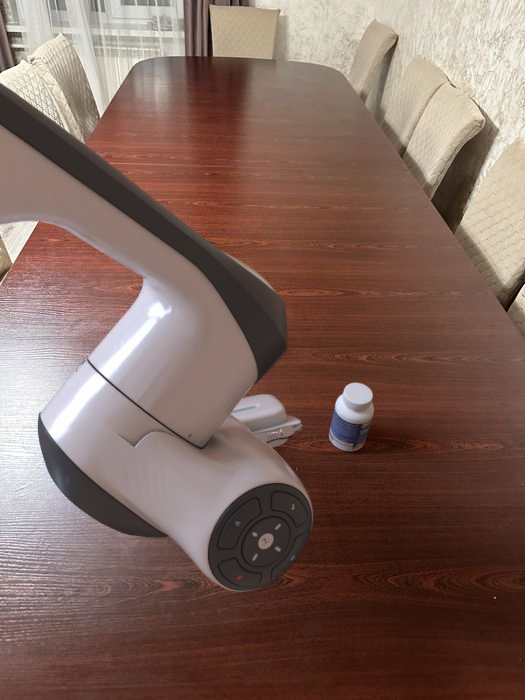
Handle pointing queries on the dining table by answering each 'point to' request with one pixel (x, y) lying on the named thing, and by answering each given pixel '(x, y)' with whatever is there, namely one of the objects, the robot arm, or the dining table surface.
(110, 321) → the dining table surface
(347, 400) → the pill bottle
